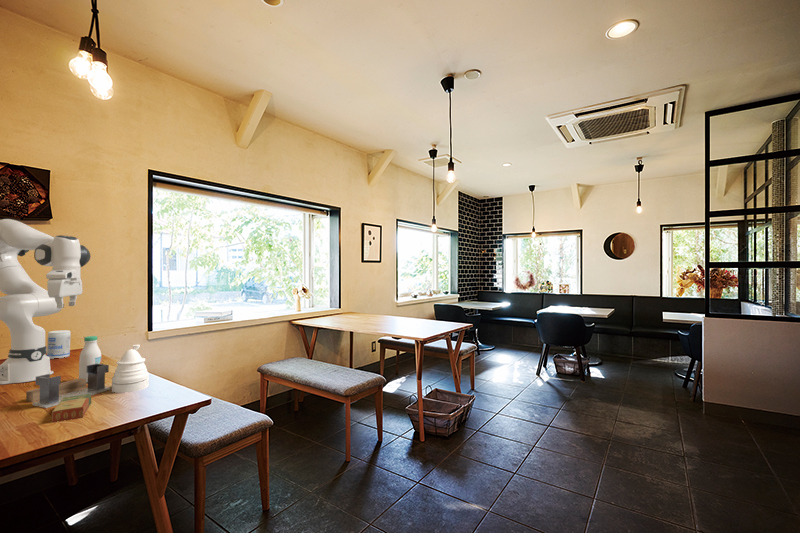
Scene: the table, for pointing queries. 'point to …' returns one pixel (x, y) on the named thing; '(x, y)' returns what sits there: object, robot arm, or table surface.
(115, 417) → the table surface
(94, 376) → the bracket stand
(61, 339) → the supplement tub
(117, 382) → the honey pot
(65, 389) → the rail
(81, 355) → the milk bottle
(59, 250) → the robot arm
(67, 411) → the carton
